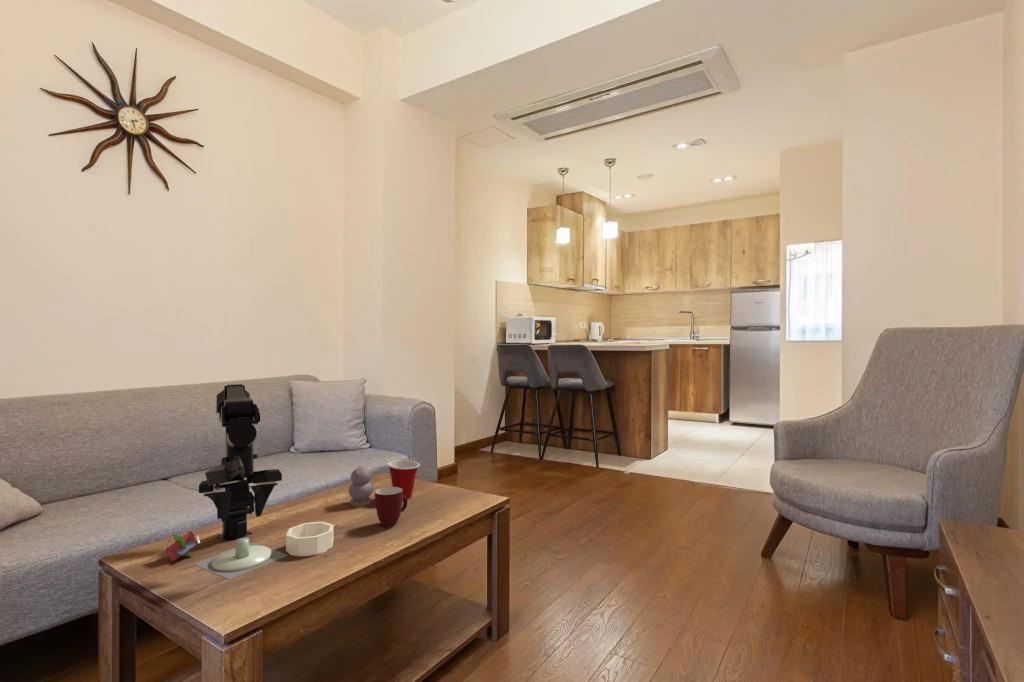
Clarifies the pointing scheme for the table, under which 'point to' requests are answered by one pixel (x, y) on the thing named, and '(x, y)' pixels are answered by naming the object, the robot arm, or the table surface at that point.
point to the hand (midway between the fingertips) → (241, 519)
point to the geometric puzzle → (182, 545)
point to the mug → (389, 505)
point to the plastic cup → (403, 475)
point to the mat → (231, 574)
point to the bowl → (309, 539)
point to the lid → (241, 557)
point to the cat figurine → (360, 486)
